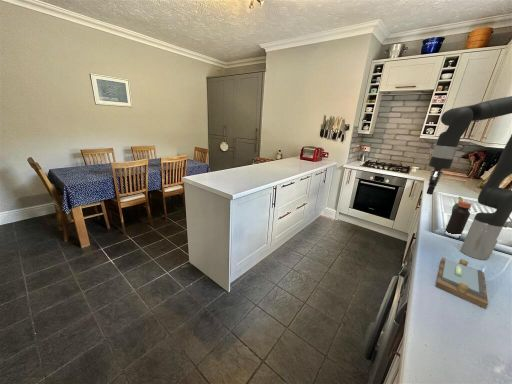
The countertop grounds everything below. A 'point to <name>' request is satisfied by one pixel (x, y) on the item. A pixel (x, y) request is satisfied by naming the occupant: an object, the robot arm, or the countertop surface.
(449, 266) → the level plate
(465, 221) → the bottle
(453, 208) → the vegetable
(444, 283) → the base
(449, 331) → the countertop surface
